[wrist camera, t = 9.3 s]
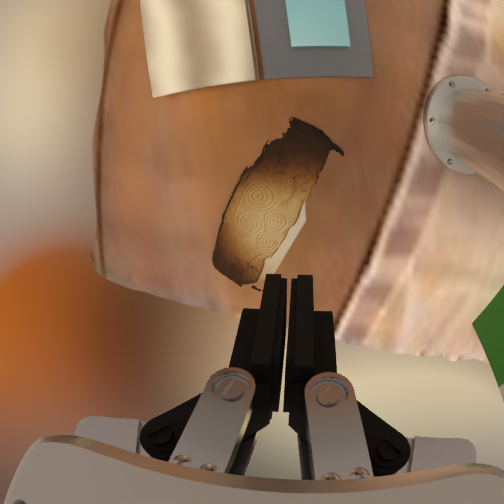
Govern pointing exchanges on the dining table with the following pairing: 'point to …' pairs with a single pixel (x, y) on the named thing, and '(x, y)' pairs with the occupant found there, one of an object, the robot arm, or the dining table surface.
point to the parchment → (270, 204)
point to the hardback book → (493, 336)
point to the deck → (198, 44)
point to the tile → (318, 24)
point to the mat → (311, 59)
